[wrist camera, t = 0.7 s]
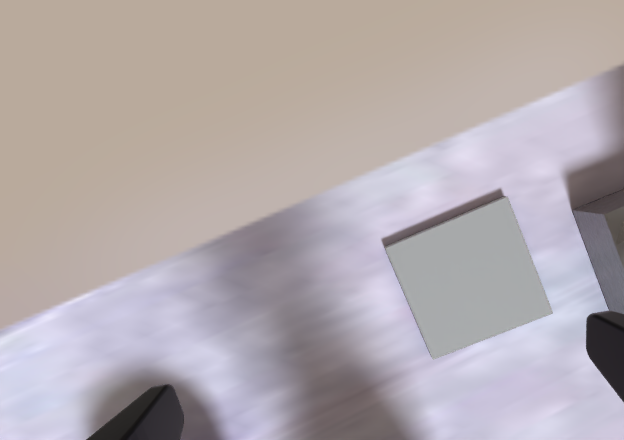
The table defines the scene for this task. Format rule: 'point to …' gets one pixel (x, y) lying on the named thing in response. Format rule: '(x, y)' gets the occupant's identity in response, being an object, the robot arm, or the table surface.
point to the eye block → (605, 244)
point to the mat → (469, 278)
